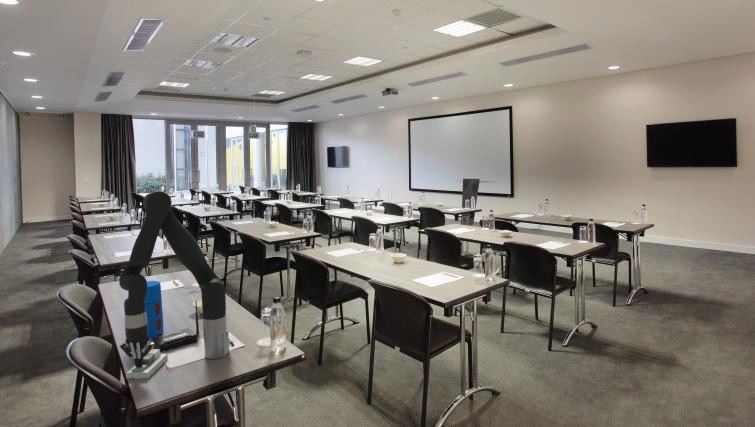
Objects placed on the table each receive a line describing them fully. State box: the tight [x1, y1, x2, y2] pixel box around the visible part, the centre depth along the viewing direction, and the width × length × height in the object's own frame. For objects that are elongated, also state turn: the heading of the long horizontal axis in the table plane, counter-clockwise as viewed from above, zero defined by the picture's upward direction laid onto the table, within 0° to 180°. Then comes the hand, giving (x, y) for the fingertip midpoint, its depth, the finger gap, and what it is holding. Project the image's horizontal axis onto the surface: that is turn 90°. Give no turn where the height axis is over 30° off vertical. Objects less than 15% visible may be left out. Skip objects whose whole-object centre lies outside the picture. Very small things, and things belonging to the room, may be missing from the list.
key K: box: [147, 348, 161, 360], centre depth 177 cm, size 4×4×3 cm
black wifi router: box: [151, 300, 200, 353], centre depth 197 cm, size 20×14×17 cm
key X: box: [143, 355, 154, 366], centre depth 172 cm, size 4×4×3 cm
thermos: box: [145, 280, 164, 340], centre depth 205 cm, size 11×11×25 cm
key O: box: [131, 364, 148, 372], centre depth 168 cm, size 4×4×3 cm
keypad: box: [126, 353, 169, 380], centre depth 173 cm, size 8×16×2 cm, turn 1°
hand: (139, 366), depth 168 cm, fingers closed
